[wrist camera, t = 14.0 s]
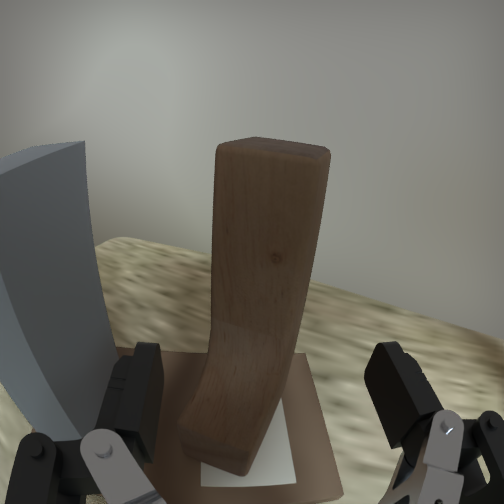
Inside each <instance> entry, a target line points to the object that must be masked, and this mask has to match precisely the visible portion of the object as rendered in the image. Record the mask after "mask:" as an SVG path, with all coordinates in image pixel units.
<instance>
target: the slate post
mask: <svg viewBox="0 0 504 504" xmlns="http://www.w3.org/2000/svg"><path fill="white" fill-rule="evenodd" d="M118 360H119V357H118V353H117V350H116V346H115V343H114V339H113V335H112V331H111V327H110V323H109V319H108V315H107V311H106V306H105V302H104V297H103V292H102V287H101V282H100V277H99V272H98V266H97V260H96V254H95V248H94V242H93V234H92V227H91V219H90V210H89V200H88V189H87V175H86V156H85V141H78V142H67V143H58V144H49V145H42V146H34V147H30V148H27V149H24V150H21V151H19V152H16V153H13V154H10V155H8V156H5V157H3V158H0V382H1V383H2V385H3V386H4V388H5V389H6V391H7V392H8V394H9V395H10V397H11V398H12V400H13V401H14V402H15V404H16V405H17V407H18V408H19V409H20V411H21V412H22V414H23V415H24V416H25V418H26V419H27V420H28V421H29V423H30V424H31V425H32V427H33V428H34V429H35V430H36V432H40V433H43V434H46V435H47V436H49V437H50V438H51V439H52V440H53V441H69V440H78V439H81V438H84V436H85V435H86V434H88V433H89V432H91V431H92V430H93V429H94V427H95V425H96V423H97V419H98V416H99V412H100V409H101V405H102V402H103V399H104V395H105V392H106V389H107V385H108V382H109V379H110V376H111V373H112V370H113V367H114V365H115V363H116V362H117V361H118Z"/></svg>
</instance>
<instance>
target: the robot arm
mask: <svg viewBox="0 0 504 504" xmlns="http://www.w3.org/2000/svg"><path fill="white" fill-rule="evenodd" d="M364 380H365V384H366V387H367V389H368V392H369V394H370V396H371V399H372V401H373V404H374V406H375V409H376V411H377V414H378V416H379V419H380V421H381V424H382V426H383V429H384V432H385V434H386V437H387V439H388V442H389V445H390V447H391V449H394V448H398V447H402V448H403V452H402V453H401V455H400V458H399V460H398V463H397V466H396V469H395V471H394V474H393V477H392V479H391V482H390V484H389V487H388V489H387V492H386V493H385V495H384V496H383V498H382V499H381V500H380V501H379V503H378V504H504V420H503V419H502V417H501V416H500V415H499V414H498V413H496V412H494V411H485V412H484V413H482V414H481V416H480V417H479V418H478V419H461V418H460V416H459V415H458V414H456V413H455V412H453V411H451V410H444V408H443V407H442V405H441V403H440V401H439V399H438V398H437V396H436V394H435V392H434V390H433V389H432V387H431V385H430V383H429V382H428V381H427V378H426V376H425V375H424V373H422V369H421V368H420V366H419V364H418V363H417V361H416V360H415V359H414V358H413V357H411V356H410V355H409V354H408V353H404V351H403V350H402V348H401V346H400V345H399V343H398V342H396V341H393V342H383V343H378V344H377V345H376V347H375V349H374V351H373V353H372V356H371V358H370V360H369V362H368V364H367V367H366V369H365V373H364ZM163 389H164V369H163V363H162V358H161V351H160V346H159V344H158V343H146V342H137V344H136V347H135V351H134V354H133V356H128V355H123V356H122V357H121V358H120V359H119V360H118V361H117V362H116V363H115V365H114V367H113V370H112V373H111V376H110V379H109V382H108V385H107V389H106V392H105V395H104V399H103V402H102V405H101V409H100V412H99V416H98V419H97V423H96V425H95V427H94V429H93V430H92V431H91V432H89V433H88V434H86V435H85V436H84V438H81V439H78V440H69V441H53V440H52V439H51V438H50V437H49V436H47V435H46V434H43V433H40V432H34V433H30V434H28V435H26V436H25V437H24V438H23V439H22V440H21V442H20V444H19V447H18V450H17V454H16V457H15V461H14V465H13V469H12V473H11V477H10V481H9V485H8V490H7V495H6V500H5V504H86V495H91V494H102V495H103V496H104V498H105V500H106V501H107V503H108V504H167V503H166V502H165V501H164V499H163V498H162V497H161V496H160V494H159V493H158V492H157V491H156V490H155V488H154V487H153V485H152V484H151V483H150V481H149V480H148V478H147V477H146V476H145V474H144V473H143V470H144V463H151V464H153V461H154V453H155V445H156V437H157V430H158V422H159V415H160V409H161V402H162V395H163ZM481 455H482V456H483V458H484V461H485V463H486V466H487V468H488V471H489V473H490V481H489V483H488V484H487V483H486V481H485V478H484V476H483V473H482V471H481V468H480V466H479V463H478V461H477V458H479V457H480V456H481Z"/></svg>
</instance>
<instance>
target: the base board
mask: <svg viewBox="0 0 504 504" xmlns="http://www.w3.org/2000/svg"><path fill="white" fill-rule="evenodd" d="M116 350H117V353H118V357H119V359H120V358H121V357H122V356H123V355H128V356H133V354H134V351H135V349H132V348H122V347H116ZM207 355H208V353H186V352H169V351H161V358H162V363H163V369H164V389H163V395H162V402H161V409H160V415H159V422H158V430H157V437H156V445H155V453H154V461H153V464H151V463H144V470H143V473H144V474H145V476H146V477H147V478H148V480H149V481H150V483H151V484H152V485H153V487H154V488H155V490H156V491H157V492H158V493H159V494H160V496H161V497H162V498H163V499H164V501H165V502H166V503H167V504H316V503H322V502H328V501H333V500H338V499H339V498H341V497H342V496H343V495H344V493H343V489H342V485H341V481H340V477H339V473H338V470H337V466H336V462H335V458H334V454H333V451H332V447H331V443H330V440H329V436H328V432H327V429H326V425H325V421H324V418H323V414H322V410H321V407H320V403H319V400H318V396H317V393H316V389H315V385H314V382H313V378H312V375H311V371H310V368H309V364H308V361H307V358H306V354H305V353H296V354H293V358H292V362H291V366H290V370H289V374H288V378H287V382H286V386H285V389H284V391H283V394H282V396H281V399H280V401H279V404H278V406H277V409H276V411H275V413H274V416H273V418H272V421H271V423H270V425H269V428H268V430H267V432H266V435H265V437H264V439H263V442H262V444H261V446H260V448H259V451H258V453H257V455H256V457H255V459H254V462H253V464H252V466H251V468H250V470H249V472H248V474H247V475H246V476H244V477H240V476H237V475H234V474H231V473H228V472H226V471H223V470H220V469H218V468H215V467H213V466H210V465H208V464H205V463H203V462H201V461H198V460H196V459H194V458H191V457H189V456H187V455H185V454H184V453H183V450H182V446H181V442H180V438H179V433H178V429H177V420H178V419H179V417H180V415H181V414H182V412H183V410H184V408H185V407H186V405H187V403H188V402H189V400H190V398H191V397H192V395H193V393H194V391H195V390H196V388H197V385H198V382H199V379H200V376H201V373H202V370H203V367H204V364H205V361H206V358H207ZM34 432H36V430H35V429H34V428H33V429H32V432H31V433H34ZM94 495H98V496H102V497H104V496H103V495H102V494H94Z"/></svg>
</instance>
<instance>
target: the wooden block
mask: <svg viewBox="0 0 504 504" xmlns="http://www.w3.org/2000/svg"><path fill="white" fill-rule="evenodd" d="M330 159H331V154H330V150H329V149H327V148H326V147H323V146H317V145H311V144H305V143H298V142H292V141H285V140H276V139H270V138H261V137H251V138H245V139H240V140H234V141H229V142H225V143H222V144H219V145H218V146H217V149H216V154H215V174H214V175H215V176H214V197H213V224H212V263H211V332H210V339H209V347H208V355H207V358H206V361H205V364H204V367H203V370H202V373H201V376H200V379H199V382H198V385H197V388H196V390H195V391H194V393H193V395H192V397H191V398H190V400H189V402H188V403H187V405H186V407H185V408H184V410H183V412H182V414H181V415H180V417H179V419H178V420H177V429H178V433H179V438H180V442H181V446H182V450H183V453H184V454H185V455H187V456H189V457H191V458H194V459H196V460H198V461H201V462H203V463H205V464H208V465H210V466H213V467H215V468H218V469H220V470H223V471H226V472H228V473H231V474H234V475H237V476H240V477H244V476H246V475H247V474H248V472H249V470H250V468H251V466H252V464H253V462H254V459H255V457H256V455H257V453H258V451H259V448H260V446H261V444H262V442H263V439H264V437H265V435H266V432H267V430H268V428H269V425H270V423H271V421H272V418H273V416H274V413H275V411H276V409H277V406H278V404H279V401H280V399H281V396H282V394H283V391H284V389H285V386H286V382H287V378H288V374H289V370H290V366H291V362H292V358H293V354H294V350H295V346H296V342H297V337H298V333H299V328H300V324H301V320H302V315H303V310H304V306H305V301H306V296H307V292H308V287H309V282H310V277H311V272H312V267H313V262H314V256H315V251H316V246H317V240H318V235H319V229H320V224H321V218H322V212H323V206H324V199H325V193H326V187H327V181H328V174H329V167H330Z"/></svg>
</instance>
